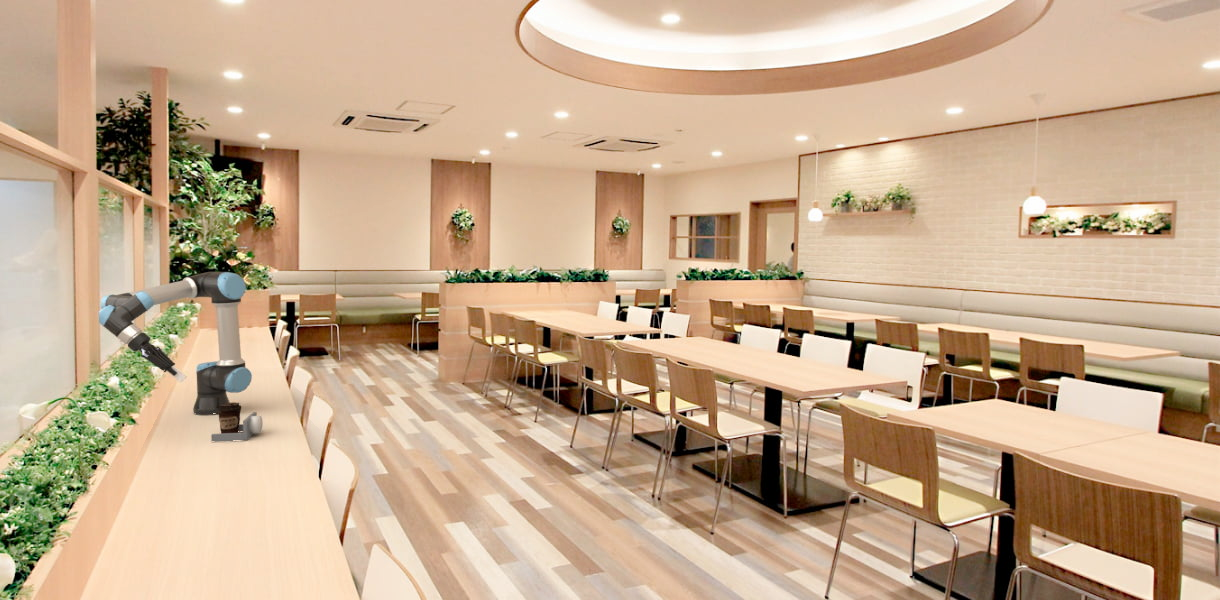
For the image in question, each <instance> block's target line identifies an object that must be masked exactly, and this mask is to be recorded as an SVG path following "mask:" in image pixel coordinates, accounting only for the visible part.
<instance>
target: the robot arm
mask: <svg viewBox="0 0 1220 600" xmlns="http://www.w3.org/2000/svg"><path fill="white" fill-rule="evenodd" d="M246 289H247V287H246V281H245V280H244V278H243V277H241V276H240V274H237V273H234V272H228V271H208V272H203V273H199V274H195V275H191V276H188V277H184V278H183V279H182V280H180V281H174V282H169V283H165V284H160V285H156V286H152V287H147V288H143V289H142V288H141V289H138V290H132V291H129V292H125V293H120V294H108V295H104V296H103V297H102V298H101V300H100V302H101V305H100V310H99V311H98V312H99V322H98V323H99V324H100V325H101V326H102V327H103V328H104V329H105V330H107V331H108V332H110V333H111V334H112V335H114V336H115V337H116V338H117V339H118V340H119V342H120V343H123V344H124V345H127V347H128V348H129V349H130V350H131V351H132V352H135V353H137V352H140V353H141V354H140V357H142V358H144V359H145V360H147V361H148V362H150V363H151V364H152V365H154V366H155V367H157V368H158V369H160V370H161V371H163V373H166V372H168V374H170V375H171V376H172V377H174V379H176V380H177V381H178V382H179V383H182V382H183V381H184V380H186V378H187V377H188V376H187V375H186V374H185V373H183V372H182V371H181V370H180V369H179V368H177V367H176V366H175V365H176V363H175V362H174V361H173V360H171V358H170V357H169V356H168V355H167V354H166V353H165V352H164V351H163V350H162V348H161V347H160V346H155V345H154V344H151V343H150V341H151V339H152V338H151V336H149V335H148V334H147V333H145V332H143V330H142V329H141V328H140V327H138V325H136V324H134V322H133V321H135V320H136V319H138V318H139V317H140V316H142V315H143V314H145V313H146V312H148V311H149V310H150V309H151V308H152V307H154V306H156V305H160V304H164V303H169V302H172V301H173V302H174V301H177V300H181V299H186V298H189V299H196V298H211V304H212V306H214V308H215V312H216V325H217V326H216V327H217V342H218V355H219V356H218V358H219V360H216V361H209V362H208V361H207V362H201V363H198V364H197V366H196V372H195V373H196V388H197V389H196V391H197V392H196V394H197V396H196V399H195V402H194V405H193V409H192V410H193V411H192V413H193V412H194V413H196V414H195V415H197V414H213V413H218V408H219V407H220V405H221V404H225V403H231V402H230V400H229V398H228V395H227V393H229V394H230V393H232V394H238V393H241V392H243V391H245V390H246V389H247V388H248V387H249V386H250V384H251V382H252V379H253V378H252V377H253V376H252V372H251V370H249V368H247V367H246V360H244V359H243V358H242V352H241V337H240V336H241V335H240V322H239V305H240V303H241V302H242V297H244V294H246ZM194 413H193V414H194ZM213 415H214V414H213Z"/></svg>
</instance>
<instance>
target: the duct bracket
mask: <svg viewBox="0 0 1220 600" xmlns="http://www.w3.org/2000/svg"><path fill="white" fill-rule="evenodd" d="M263 422H264V421H263V417H262V415H258V413H257V411H253V412H252V413H251V414H249V415H248V416H247V417H245V419H244V420H242V424H241V423H239V429H238V431H243V432H239V433H224V434H221V433H212V434H211V435H210V437H211V438H210V439H211V442H212V441H230V442H234V441H233V440H247V439H248V440H249V439H250V438H251V437H252V436H253V435H254V434H261V433H262V431H263ZM248 440H247V441H248Z"/></svg>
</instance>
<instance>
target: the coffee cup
mask: <svg viewBox="0 0 1220 600" xmlns="http://www.w3.org/2000/svg"><path fill="white" fill-rule="evenodd" d="M241 410H242V406H241V404H240V402H230V403H225V404H221V405H220V407H219V408H218V413H219V414H218V421H219V428H220V429H219V430H220V434H224V433H240V432H238V429H239V424H241V423H240V422H241Z"/></svg>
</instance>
